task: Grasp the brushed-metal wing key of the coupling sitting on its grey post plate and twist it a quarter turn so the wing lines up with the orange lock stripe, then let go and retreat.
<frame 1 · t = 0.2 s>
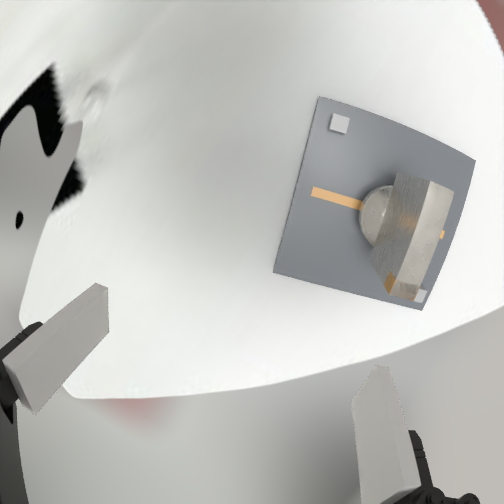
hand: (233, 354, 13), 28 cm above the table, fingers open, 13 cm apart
post plate: (381, 211, 36), on the table
coupling: (403, 228, 28), point 9 cm above the table, hinge at 0.0°
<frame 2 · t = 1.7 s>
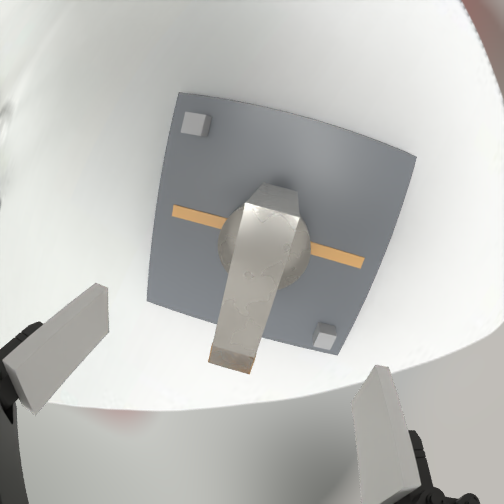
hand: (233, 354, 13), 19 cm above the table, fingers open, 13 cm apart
post plate: (268, 232, 30), on the table
coupling: (258, 265, 22), point 9 cm above the table, hinge at 0.0°
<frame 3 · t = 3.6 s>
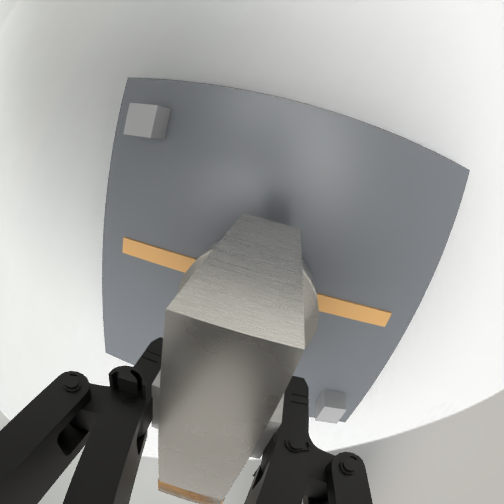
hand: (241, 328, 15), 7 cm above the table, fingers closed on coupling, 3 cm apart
post plate: (257, 276, 21), on the table
coupling: (232, 355, 12), point 9 cm above the table, hinge at 0.0°, touching gripper
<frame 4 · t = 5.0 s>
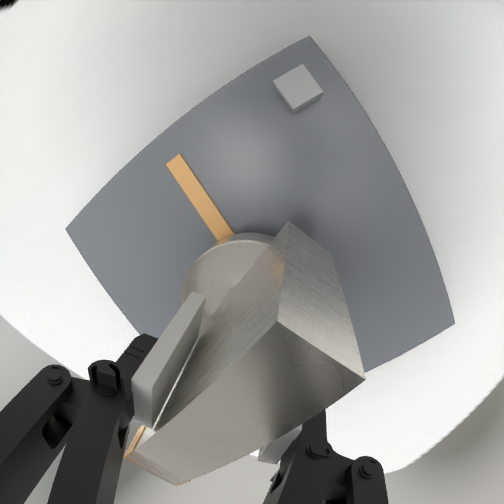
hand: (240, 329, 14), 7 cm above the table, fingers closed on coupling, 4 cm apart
post plate: (258, 273, 21), on the table
coupling: (235, 347, 13), point 9 cm above the table, hinge at 20.3°, touching gripper
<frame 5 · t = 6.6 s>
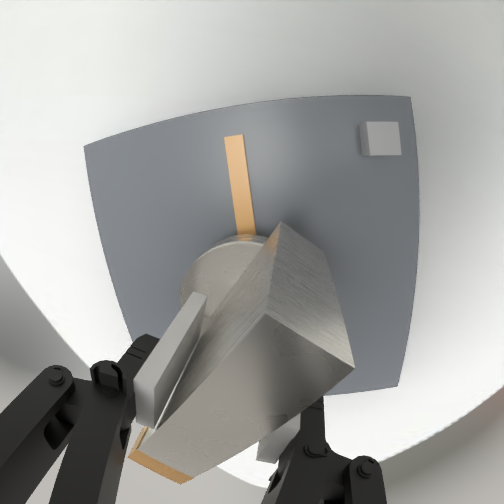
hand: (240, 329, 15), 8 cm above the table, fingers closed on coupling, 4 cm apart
post plate: (255, 274, 22), on the table
coupling: (233, 346, 13), point 9 cm above the table, hinge at 48.6°, touching gripper
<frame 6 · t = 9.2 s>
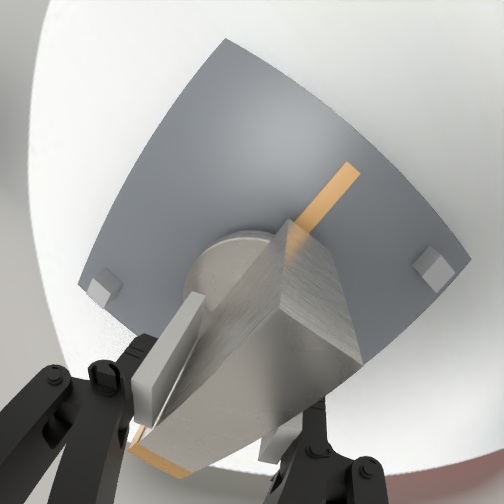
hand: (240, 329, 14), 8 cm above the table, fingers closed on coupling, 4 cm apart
post plate: (259, 270, 22), on the table
coupling: (237, 341, 14), point 9 cm above the table, hinge at 91.7°, touching gripper
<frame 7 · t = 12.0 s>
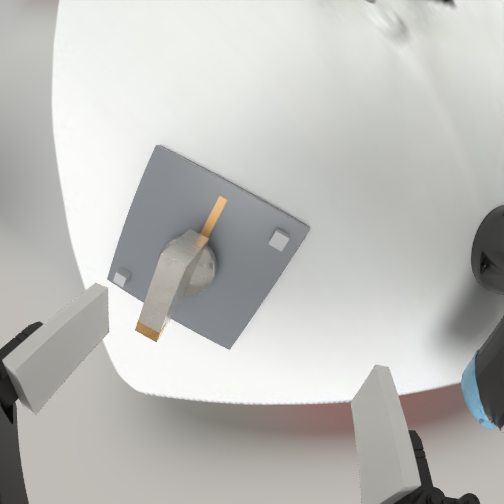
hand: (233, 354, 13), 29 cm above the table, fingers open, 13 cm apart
post plate: (195, 254, 43), on the table
coupling: (175, 280, 35), point 9 cm above the table, hinge at 92.4°
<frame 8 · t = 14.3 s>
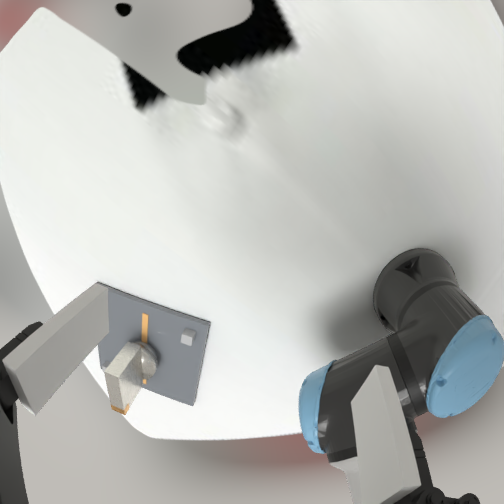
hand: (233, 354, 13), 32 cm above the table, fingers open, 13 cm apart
post plate: (146, 348, 55), on the table
coupling: (128, 375, 47), point 9 cm above the table, hinge at 92.4°
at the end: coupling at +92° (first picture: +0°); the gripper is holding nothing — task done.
